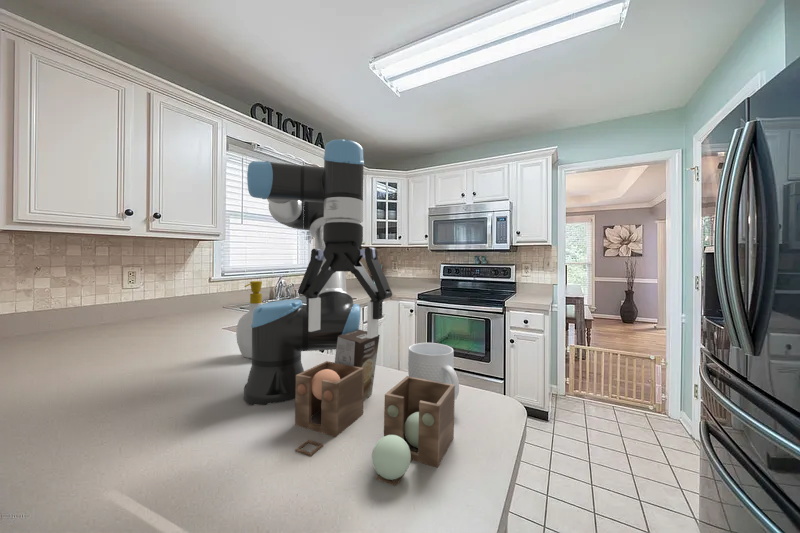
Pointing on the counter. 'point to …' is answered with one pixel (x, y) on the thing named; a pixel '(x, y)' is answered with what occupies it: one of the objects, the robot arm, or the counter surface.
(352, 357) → the coffee box
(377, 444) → the sage ball
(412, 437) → the sage ball
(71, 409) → the counter surface
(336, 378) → the terracotta ball
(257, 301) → the soap bottle
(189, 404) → the counter surface
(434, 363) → the mug
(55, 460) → the counter surface
